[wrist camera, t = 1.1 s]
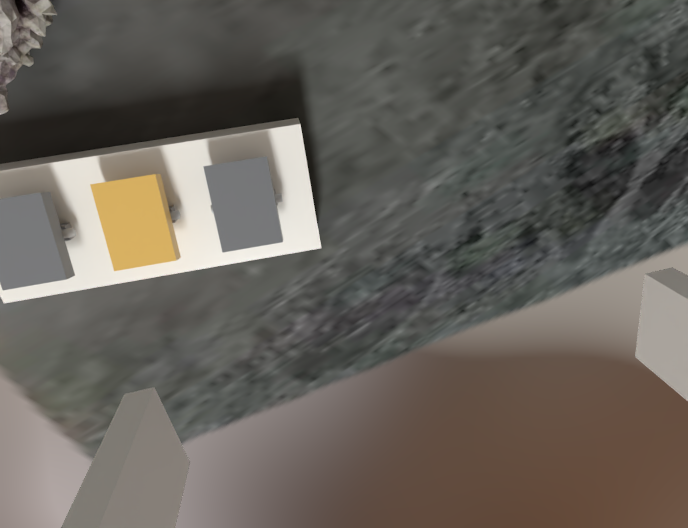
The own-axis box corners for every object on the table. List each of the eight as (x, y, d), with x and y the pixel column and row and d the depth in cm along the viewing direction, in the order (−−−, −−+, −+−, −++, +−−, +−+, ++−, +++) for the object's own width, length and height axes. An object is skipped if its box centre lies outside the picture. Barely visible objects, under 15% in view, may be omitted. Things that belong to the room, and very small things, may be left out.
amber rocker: (97, 183, 29) (90, 184, 28) (160, 173, 29) (155, 174, 28) (120, 267, 30) (114, 271, 29) (180, 257, 30) (176, 260, 29)
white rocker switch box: (-95, 178, 32) (-159, 197, 27) (298, 117, 33) (301, 125, 29) (-33, 290, 35) (-81, 324, 31) (317, 230, 37) (322, 253, 32)
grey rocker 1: (-15, 201, 28) (-27, 203, 27) (50, 191, 29) (40, 192, 28) (13, 286, 30) (2, 290, 29) (75, 275, 30) (66, 279, 29)
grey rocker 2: (206, 166, 29) (203, 166, 28) (267, 156, 29) (266, 156, 28) (225, 249, 30) (222, 252, 29) (283, 239, 31) (282, 242, 30)
